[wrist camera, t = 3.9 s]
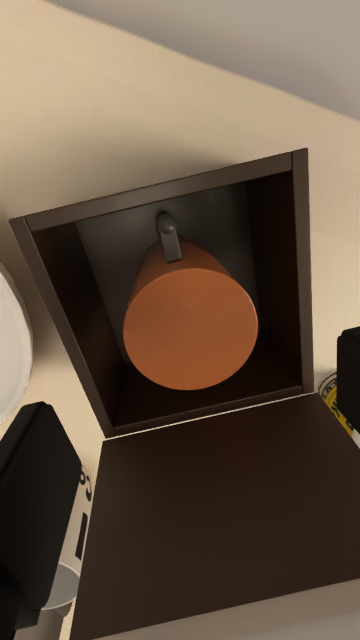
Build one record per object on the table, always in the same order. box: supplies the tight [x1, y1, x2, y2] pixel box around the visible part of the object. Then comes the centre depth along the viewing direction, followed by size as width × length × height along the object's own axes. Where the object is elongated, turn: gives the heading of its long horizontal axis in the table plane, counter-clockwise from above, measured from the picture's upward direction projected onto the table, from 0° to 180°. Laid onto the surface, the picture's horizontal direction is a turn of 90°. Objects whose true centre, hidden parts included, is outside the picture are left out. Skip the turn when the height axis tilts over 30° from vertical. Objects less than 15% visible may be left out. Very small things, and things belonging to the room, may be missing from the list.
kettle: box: [123, 211, 258, 390], centre depth 18 cm, size 11×6×11 cm, turn 12°
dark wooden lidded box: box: [9, 148, 314, 439], centre depth 20 cm, size 15×15×9 cm
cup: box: [41, 466, 92, 610], centre depth 28 cm, size 8×8×10 cm
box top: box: [69, 393, 360, 640], centre depth 13 cm, size 15×15×6 cm
